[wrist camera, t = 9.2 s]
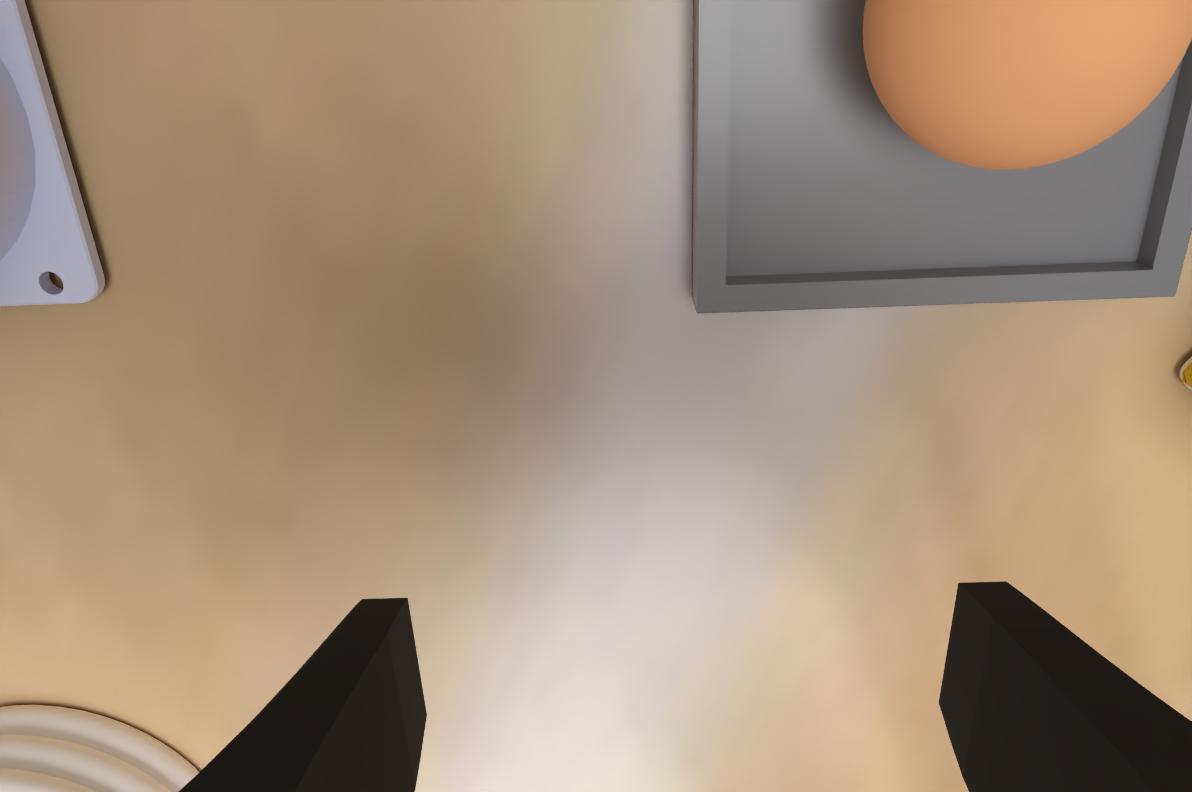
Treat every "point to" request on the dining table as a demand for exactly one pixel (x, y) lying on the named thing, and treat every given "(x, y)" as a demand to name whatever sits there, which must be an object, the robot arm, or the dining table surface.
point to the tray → (904, 185)
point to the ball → (1020, 72)
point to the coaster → (83, 754)
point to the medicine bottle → (1187, 373)
